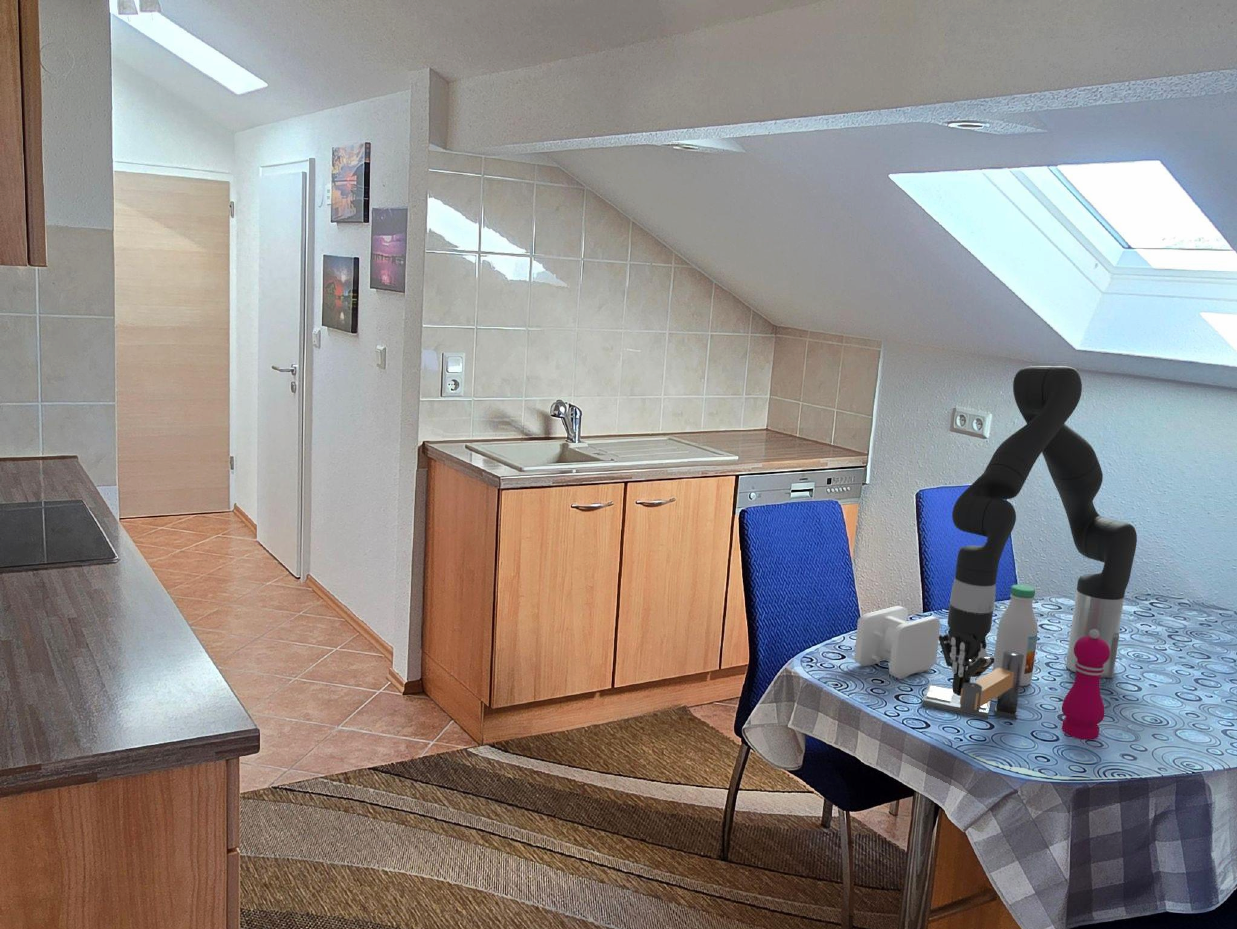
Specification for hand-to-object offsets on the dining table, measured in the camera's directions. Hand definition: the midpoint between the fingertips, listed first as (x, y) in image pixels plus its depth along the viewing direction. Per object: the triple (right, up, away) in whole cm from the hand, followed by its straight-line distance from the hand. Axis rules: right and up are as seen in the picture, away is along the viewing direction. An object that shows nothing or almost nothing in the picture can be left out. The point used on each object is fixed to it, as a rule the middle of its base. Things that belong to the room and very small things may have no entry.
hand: (959, 693), depth 192 cm
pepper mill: (+22, -7, +1) cm, 24 cm away
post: (+11, -5, +7) cm, 14 cm away
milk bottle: (+19, -3, +24) cm, 31 cm away
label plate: (+3, -4, +11) cm, 12 cm away
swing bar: (+4, -1, -1) cm, 5 cm away
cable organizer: (-5, -1, +28) cm, 28 cm away
